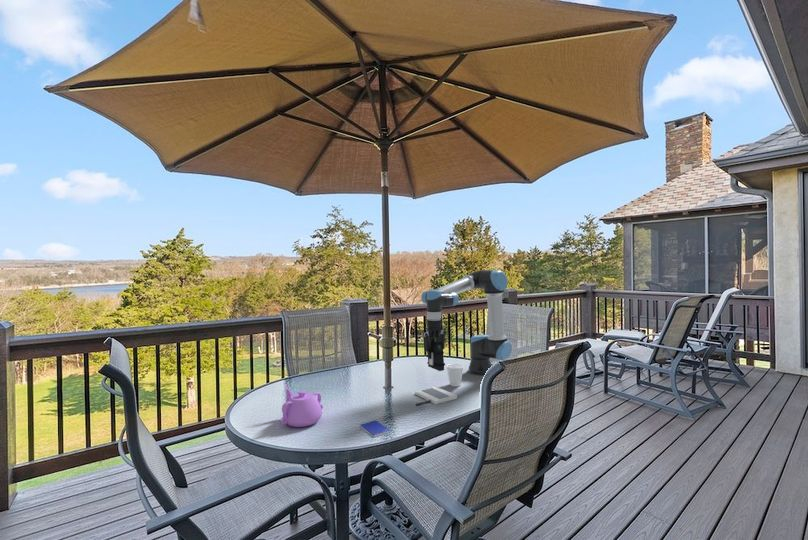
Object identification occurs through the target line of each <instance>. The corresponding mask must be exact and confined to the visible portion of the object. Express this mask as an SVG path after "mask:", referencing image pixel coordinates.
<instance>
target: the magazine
mask: <svg viewBox="0 0 808 540" xmlns="http://www.w3.org/2000/svg"><path fill="white" fill-rule="evenodd" d="M441 344H442V342H440V340H437V341H436V340H434V341H433V348H432V352H433V365H430V364H429V358H428V352H426V353H427V354H426V358H427V362H426V364H427V365H428V367H429V368H431V369H434V370H436V371H437V372H442V371H445V366H446V363H445V362H444V361H445V360H444V354H445V352H444V351H442V346H441Z"/></svg>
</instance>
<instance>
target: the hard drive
mask: <svg viewBox="0 0 808 540" xmlns="http://www.w3.org/2000/svg"><path fill="white" fill-rule="evenodd" d="M359 426H360V428H362V429H363V430H364V431H365V432H366V433H367V434H369V435H371V436H372V437H373V438H377V437H379V436H382V435H386V434H389V433H391V432H392V430H391V429H390V428H388V427H387V426H385V425H384V424H382V423H381V422H379V420H376V419H375V420H372V421H368V422H365V423H362V424H360V425H359Z"/></svg>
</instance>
